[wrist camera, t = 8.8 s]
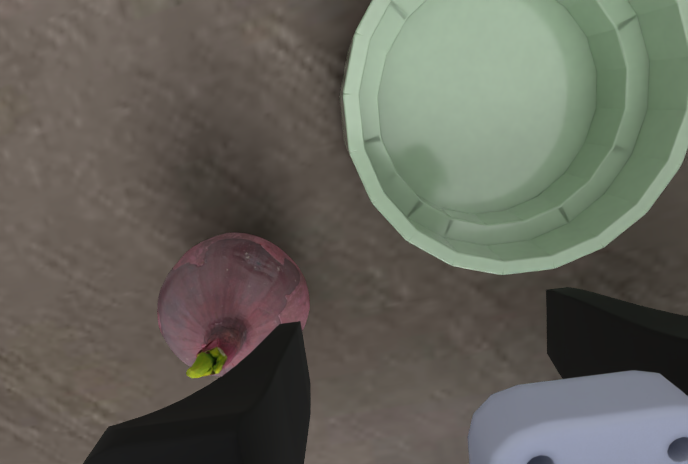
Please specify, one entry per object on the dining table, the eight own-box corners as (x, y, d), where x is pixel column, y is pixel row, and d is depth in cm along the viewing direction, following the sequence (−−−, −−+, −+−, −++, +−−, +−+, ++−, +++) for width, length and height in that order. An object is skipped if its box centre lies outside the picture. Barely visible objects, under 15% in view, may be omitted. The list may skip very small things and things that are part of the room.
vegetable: (331, 245, 24) (335, 340, 14) (281, 347, 25) (254, 498, 15) (215, 193, 23) (135, 258, 13) (170, 303, 24) (68, 433, 15)
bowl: (618, 223, 24) (691, 252, 19) (356, 254, 24) (364, 292, 19) (628, -73, 21) (720, -127, 16) (323, -38, 21) (323, -82, 16)
